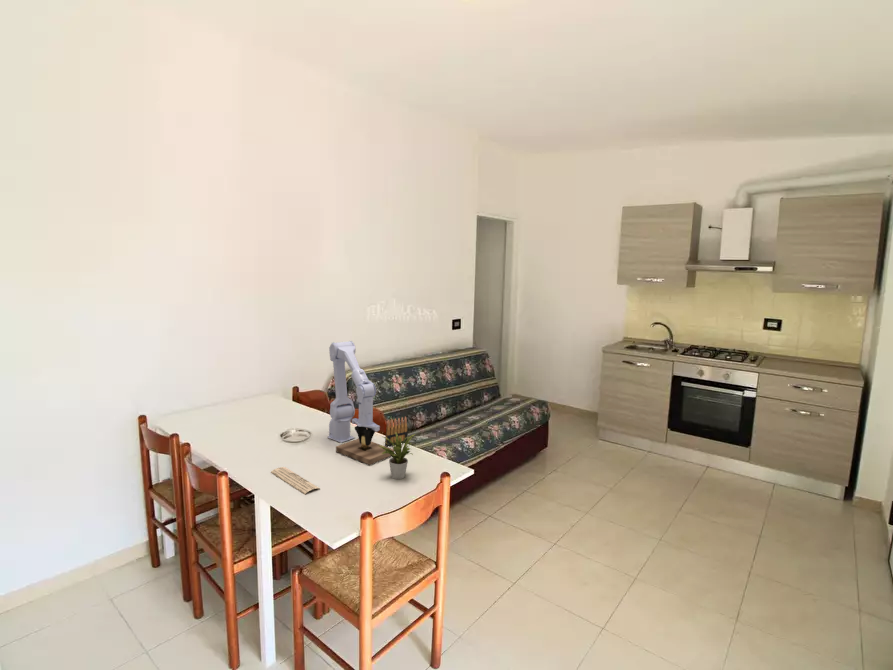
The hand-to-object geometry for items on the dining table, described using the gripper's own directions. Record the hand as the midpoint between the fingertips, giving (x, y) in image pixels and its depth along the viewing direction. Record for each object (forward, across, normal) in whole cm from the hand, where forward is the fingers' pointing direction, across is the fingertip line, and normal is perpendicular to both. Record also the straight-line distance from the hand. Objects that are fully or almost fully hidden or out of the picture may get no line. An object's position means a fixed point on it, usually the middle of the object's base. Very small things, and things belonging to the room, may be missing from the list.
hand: (365, 443), depth 203 cm
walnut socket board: (+4, 0, 0) cm, 4 cm away
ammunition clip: (+5, +2, +17) cm, 18 cm away
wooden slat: (+5, 0, -34) cm, 34 cm away
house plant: (+5, +24, -5) cm, 25 cm away
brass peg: (+2, 0, 0) cm, 2 cm away
